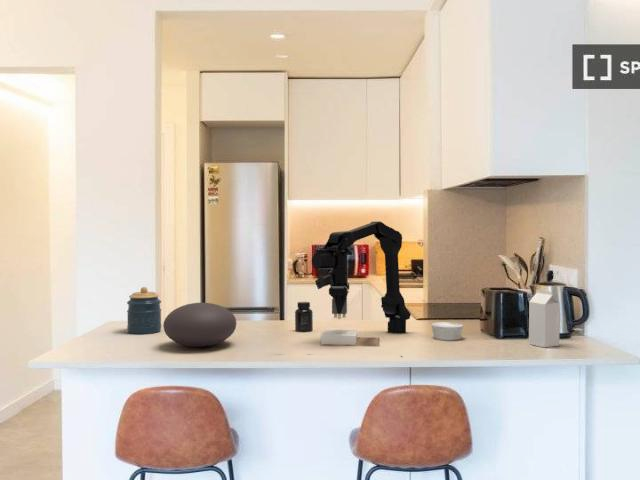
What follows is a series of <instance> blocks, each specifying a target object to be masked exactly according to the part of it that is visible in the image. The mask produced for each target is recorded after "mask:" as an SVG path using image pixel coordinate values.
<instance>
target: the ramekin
mask: <svg viewBox="0 0 640 480" xmlns="http://www.w3.org/2000/svg"><path fill="white" fill-rule="evenodd" d="M431 328H432V334H433V337H434V338H435V340H438V341H448V342H449V341H458V340H460V338H461V336H462V333H463V328H464V325H463V324H460V323H457V322H451V321H450V322H448V321H447V322H446V321H440V322H439V321H438V322H433V323H431Z"/></svg>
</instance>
